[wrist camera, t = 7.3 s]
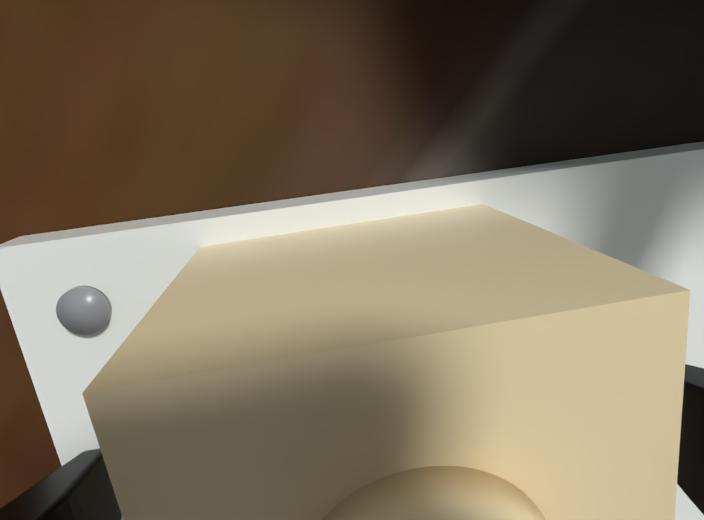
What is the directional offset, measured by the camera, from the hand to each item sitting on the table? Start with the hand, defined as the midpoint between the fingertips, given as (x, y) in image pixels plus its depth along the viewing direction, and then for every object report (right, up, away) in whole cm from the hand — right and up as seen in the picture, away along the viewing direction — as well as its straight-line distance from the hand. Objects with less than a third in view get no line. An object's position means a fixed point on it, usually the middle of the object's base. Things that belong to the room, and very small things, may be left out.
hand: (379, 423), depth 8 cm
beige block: (0, +1, +3) cm, 3 cm away
